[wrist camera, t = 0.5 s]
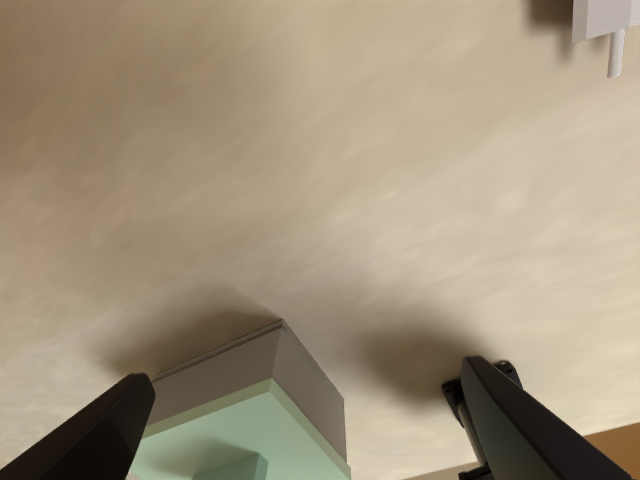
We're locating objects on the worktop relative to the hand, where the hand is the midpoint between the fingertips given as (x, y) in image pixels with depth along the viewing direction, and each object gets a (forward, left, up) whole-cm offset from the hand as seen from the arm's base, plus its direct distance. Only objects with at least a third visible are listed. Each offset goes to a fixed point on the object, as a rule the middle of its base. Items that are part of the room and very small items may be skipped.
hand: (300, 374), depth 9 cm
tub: (-13, +14, -14) cm, 24 cm away
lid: (-13, +14, -9) cm, 21 cm away
